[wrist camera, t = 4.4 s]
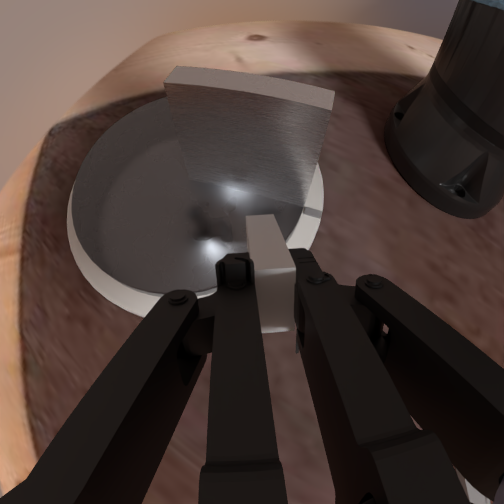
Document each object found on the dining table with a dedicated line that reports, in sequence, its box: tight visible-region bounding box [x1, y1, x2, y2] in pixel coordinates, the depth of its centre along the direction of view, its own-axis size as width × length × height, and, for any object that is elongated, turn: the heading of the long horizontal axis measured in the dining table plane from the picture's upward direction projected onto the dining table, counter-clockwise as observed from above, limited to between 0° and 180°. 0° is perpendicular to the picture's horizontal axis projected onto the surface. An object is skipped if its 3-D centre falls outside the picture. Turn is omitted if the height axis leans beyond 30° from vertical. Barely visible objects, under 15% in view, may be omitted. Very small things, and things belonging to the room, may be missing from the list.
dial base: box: [67, 162, 324, 318], centre depth 24 cm, size 22×22×1 cm
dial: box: [71, 66, 335, 297], centre depth 19 cm, size 19×19×10 cm
